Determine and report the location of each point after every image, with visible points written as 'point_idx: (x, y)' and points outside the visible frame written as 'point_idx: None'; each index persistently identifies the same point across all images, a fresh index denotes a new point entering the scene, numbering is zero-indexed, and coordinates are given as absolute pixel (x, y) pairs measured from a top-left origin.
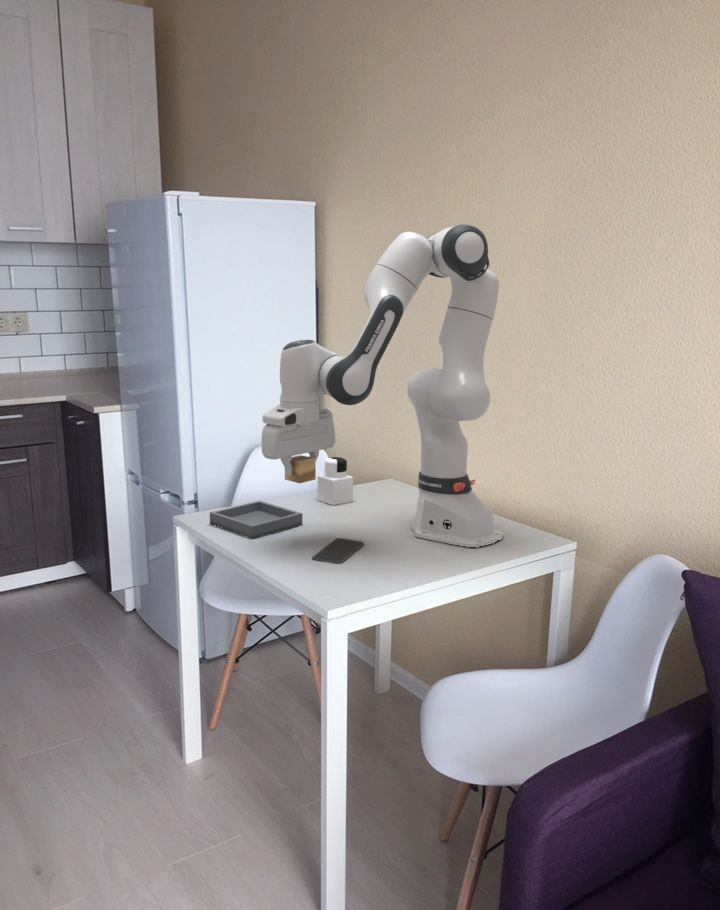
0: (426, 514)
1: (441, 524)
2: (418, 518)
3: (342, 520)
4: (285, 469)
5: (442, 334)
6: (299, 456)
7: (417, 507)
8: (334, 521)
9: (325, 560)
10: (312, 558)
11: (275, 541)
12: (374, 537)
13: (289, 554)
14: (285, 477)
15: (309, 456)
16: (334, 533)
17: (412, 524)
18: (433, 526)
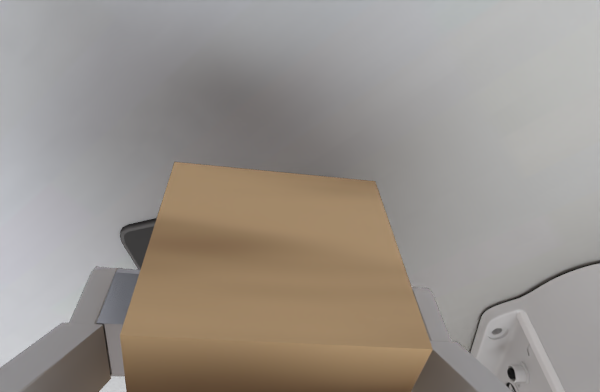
0: (539, 375)
1: (514, 384)
2: (534, 346)
3: (593, 49)
4: (81, 303)
5: None
6: (351, 379)
7: (591, 349)
8: (566, 29)
9: (138, 268)
10: (120, 233)
11: (153, 5)
12: (430, 243)
13: (90, 154)
14: (172, 181)
15: (469, 388)
16: (402, 130)
17: (579, 277)
18: (516, 360)
